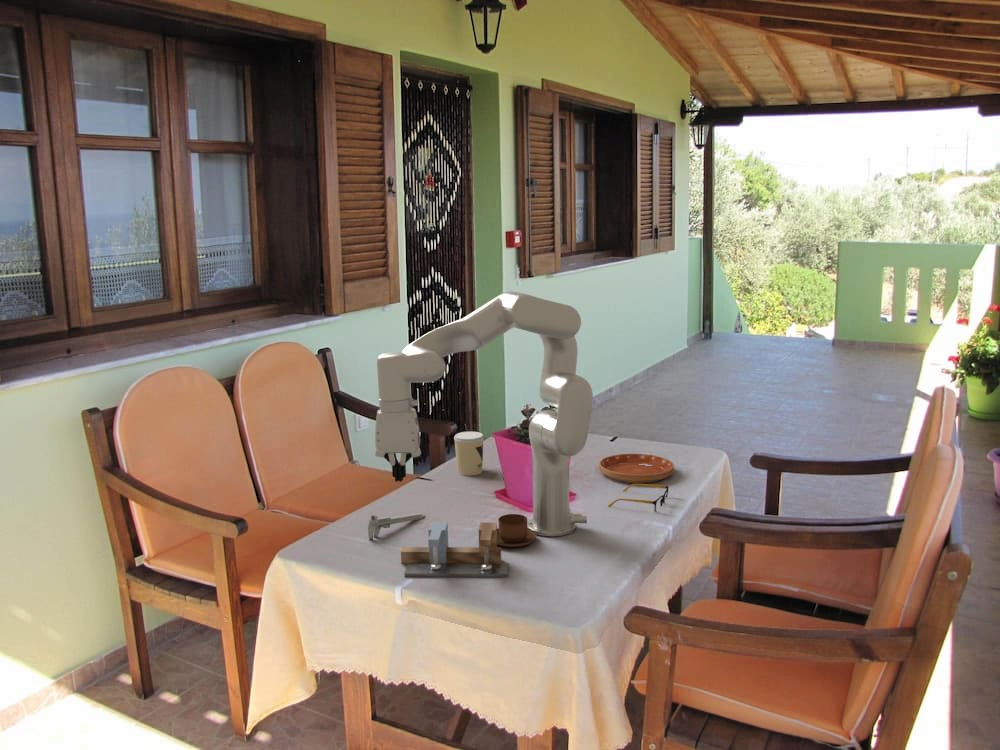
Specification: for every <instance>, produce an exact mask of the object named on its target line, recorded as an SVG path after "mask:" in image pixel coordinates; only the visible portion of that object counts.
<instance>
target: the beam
mask: <svg viewBox="0 0 1000 750" xmlns="http://www.w3.org/2000/svg"><path fill="white" fill-rule="evenodd" d="M497 529H498V522H480V523H479V526H478V547H475V546H473V547H471V546H470V547H468V546H467V547H466V546H464V547H463V546H462V547H461V546H460V547H459V546H458V547H457V546H455V547H454V546H452V547H451V546H450V547H449V546H448V547H447V550H446V562H447V563H485V564H502V547H498V544H497ZM400 561H401V562H400V563H401V564H407V565H408V563H430V560H429V546H402V548H401V550H400Z"/></svg>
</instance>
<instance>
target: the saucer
mask: <svg viewBox="0 0 1000 750" xmlns="http://www.w3.org/2000/svg"><path fill="white" fill-rule="evenodd" d="M639 464H648V465H652V466H645V465H639ZM598 467H599V472H601V473H602V474H603V475H605V476H607V477H608V478H610V479H612V480H614V481H618V482H624V483H629V482H631V483H630V484H646V483H645V482H648V483H654V482H653V481H655V482H658V481H657V480H659V481H661V479H662V480H664V479H666V478H667V477H669V476H671V475H672V474H673V473H674V469H675V464H674V463H673V462H672V461H671V460H669V459H667V458H665V457H662V456H658V455H653V454H644V453H621V454H614V455H610V456H606V457H604V458H601V460H599V463H598ZM665 477H666V478H665ZM663 478H664V479H663Z"/></svg>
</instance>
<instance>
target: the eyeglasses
mask: <svg viewBox="0 0 1000 750" xmlns="http://www.w3.org/2000/svg"><path fill="white" fill-rule="evenodd" d="M633 486H643V487H652V488H659V489H665V491H664V493H663V495H660V496H659V497H658V498H657V499H656V500H645V499H632V498H631V499H630V498H617V499H616V500H614V501H612V502H611V503H609V504H608V505H607V507H608V508H611V507H612V506H613V505H614V504H616V503H617V502H618V501H627V502H635V503H641V504H642V503H643V504H651V505H654V508H653V509H654V510H653V511H654V512H657V511H656V510H657V503H658V501H659V504H660V506H662V507H663V504H665V502H666V497H667V498H668V494H669V487H670V486H669V485H665V484H663V485H662V484H650V483H649V484H648V483H631V484H630V485H628V486H627V487H625V488H624V489H623V490H622V492H624V491H625V492H626V491H627V490H628V489H629V488H630V487H633ZM660 506H659V507H660Z"/></svg>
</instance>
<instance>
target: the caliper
mask: <svg viewBox="0 0 1000 750" xmlns="http://www.w3.org/2000/svg"><path fill="white" fill-rule="evenodd" d="M423 518H426V515H424V514H423V513H419V512H418V513H413V514H405V515H400V516H394V517H393V516H392V517H390V516H383V517H379V516H378V515H377V514H374V515H371V516H370V519H369V520H368V524H367V525H368V526H367V532H368V539H370V540H373V539H374V538H375V537H376V538H375V539H377V538H378V537H379V535H380V531H381V529H382V528H384V529H387V528H390V527H391V525H395V524H402V523H407V522H413V521H418V520H421V519H423Z"/></svg>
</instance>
